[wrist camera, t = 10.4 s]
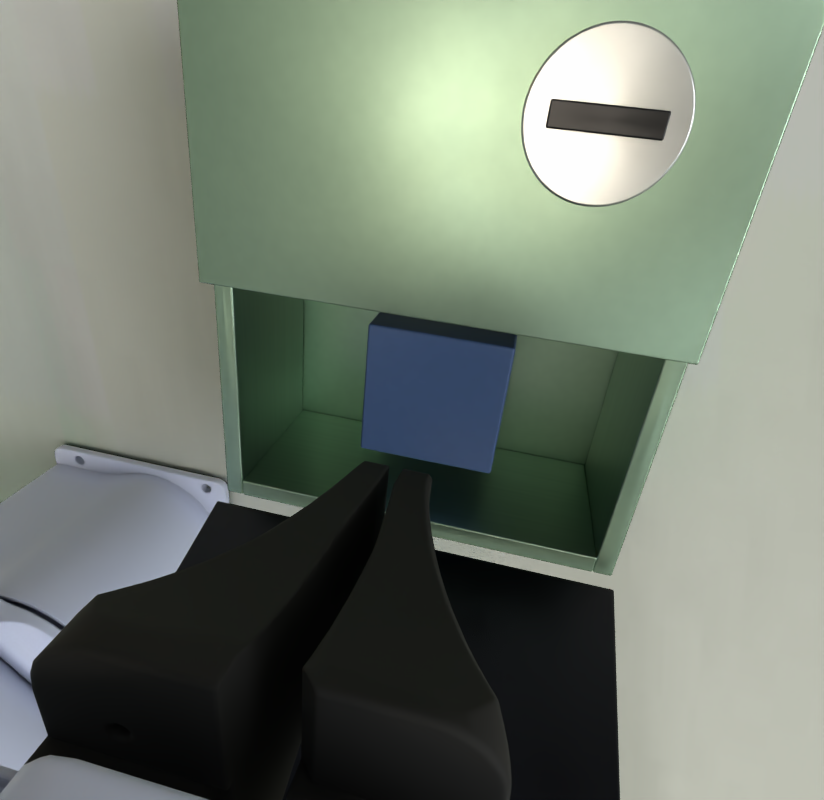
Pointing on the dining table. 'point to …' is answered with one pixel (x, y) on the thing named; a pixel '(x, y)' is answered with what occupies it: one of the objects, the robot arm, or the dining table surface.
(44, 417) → the dining table surface
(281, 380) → the washer
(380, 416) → the navy cube
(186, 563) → the lid
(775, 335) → the dining table surface
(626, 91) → the white disc with bar
